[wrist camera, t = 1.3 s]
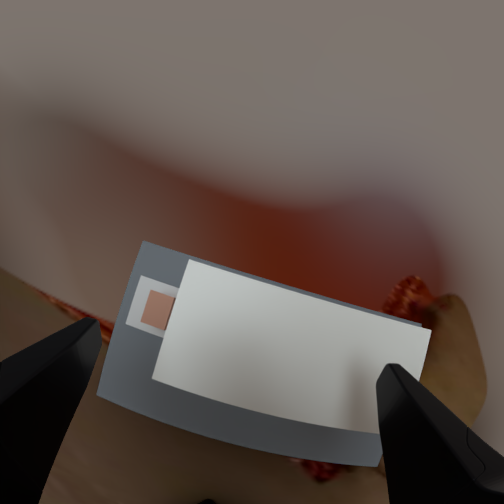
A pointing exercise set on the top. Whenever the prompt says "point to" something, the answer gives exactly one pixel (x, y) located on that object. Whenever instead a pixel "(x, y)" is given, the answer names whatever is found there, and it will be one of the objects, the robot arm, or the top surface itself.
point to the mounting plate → (195, 406)
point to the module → (281, 350)
